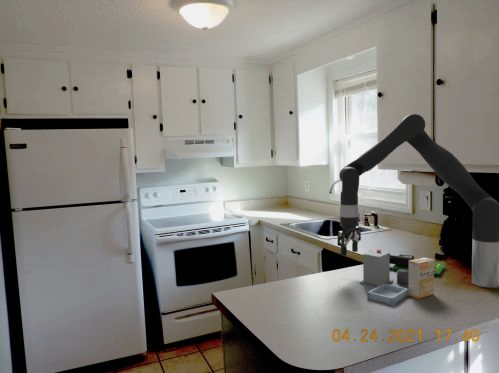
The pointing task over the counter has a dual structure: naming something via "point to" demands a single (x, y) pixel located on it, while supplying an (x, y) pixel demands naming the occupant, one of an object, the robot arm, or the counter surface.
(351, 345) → the counter surface
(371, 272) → the control box
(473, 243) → the robot arm
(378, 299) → the tray
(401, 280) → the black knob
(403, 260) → the electronic board model
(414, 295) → the supplement box
